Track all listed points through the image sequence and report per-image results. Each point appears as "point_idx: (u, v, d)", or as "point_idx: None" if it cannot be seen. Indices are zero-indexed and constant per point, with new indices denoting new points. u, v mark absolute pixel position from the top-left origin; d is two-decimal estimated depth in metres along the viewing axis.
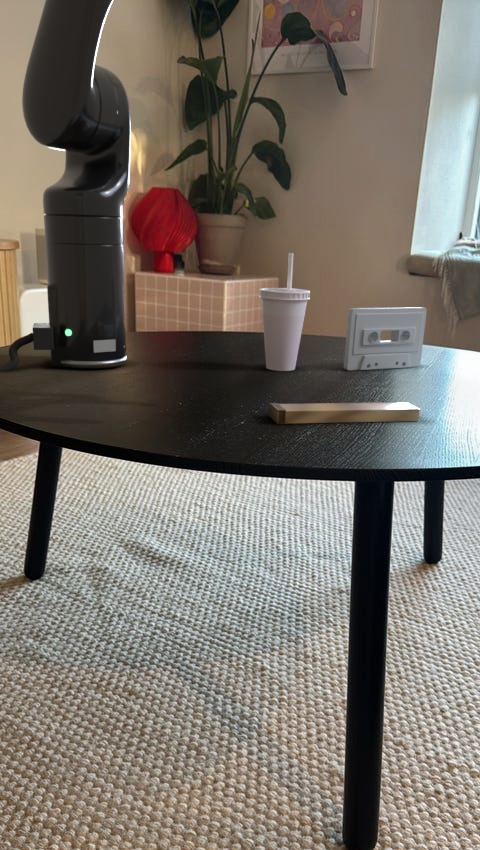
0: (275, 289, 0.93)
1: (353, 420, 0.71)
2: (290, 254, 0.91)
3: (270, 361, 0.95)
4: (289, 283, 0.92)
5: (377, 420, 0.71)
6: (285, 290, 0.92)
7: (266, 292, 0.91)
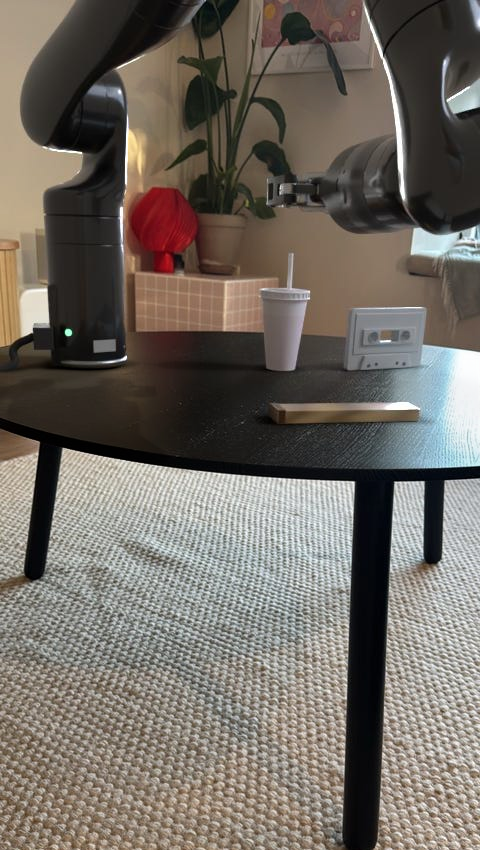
0: (275, 289, 0.93)
1: (353, 420, 0.71)
2: (290, 254, 0.91)
3: (270, 361, 0.95)
4: (289, 283, 0.92)
5: (377, 420, 0.71)
6: (285, 290, 0.92)
7: (266, 292, 0.91)
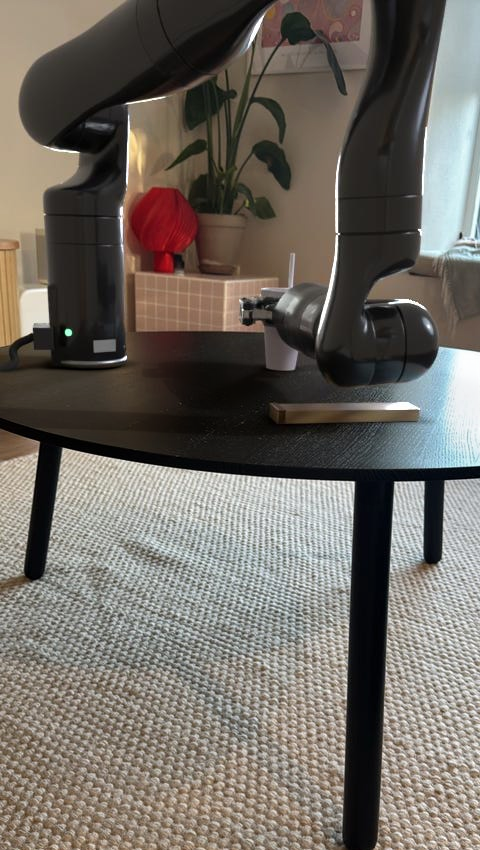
0: (276, 289, 0.93)
1: (353, 420, 0.71)
2: (292, 254, 0.91)
3: (270, 360, 0.95)
4: (290, 283, 0.93)
5: (377, 420, 0.71)
6: (286, 290, 0.92)
7: (267, 291, 0.91)
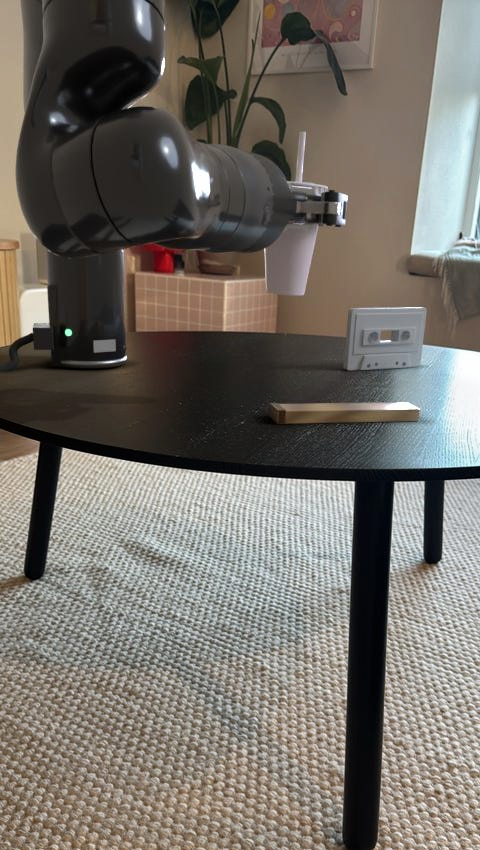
0: None
1: (353, 420, 0.71)
2: (300, 133, 0.67)
3: (266, 280, 0.72)
4: (297, 174, 0.68)
5: (377, 420, 0.71)
6: None
7: None
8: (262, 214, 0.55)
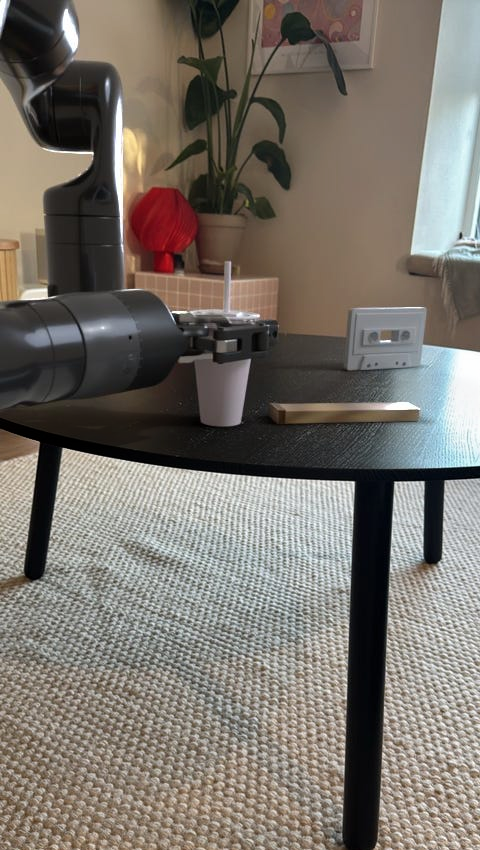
0: (211, 311, 0.66)
1: (353, 420, 0.71)
2: None
3: (199, 408, 0.69)
4: (224, 304, 0.65)
5: (377, 420, 0.71)
6: (211, 313, 0.65)
7: None
8: (120, 364, 0.53)
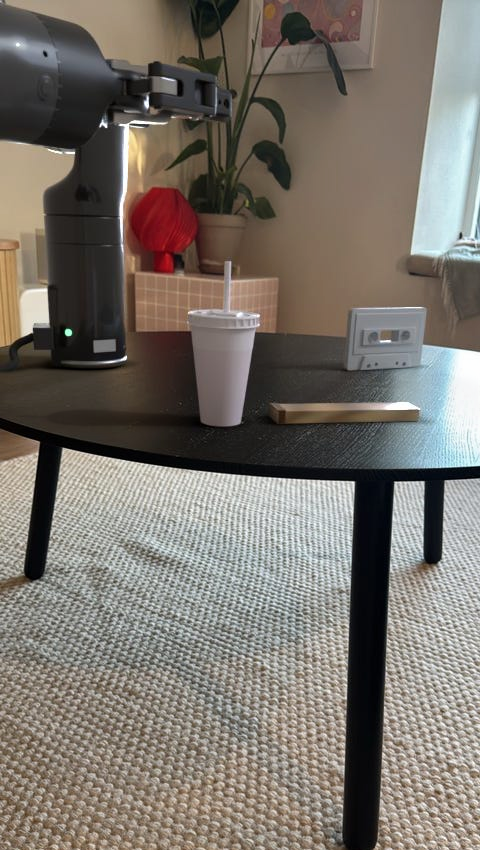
0: (211, 311, 0.66)
1: (353, 420, 0.71)
2: None
3: (199, 408, 0.69)
4: (224, 304, 0.65)
5: (377, 420, 0.71)
6: (211, 313, 0.65)
7: None
8: (33, 85, 0.45)
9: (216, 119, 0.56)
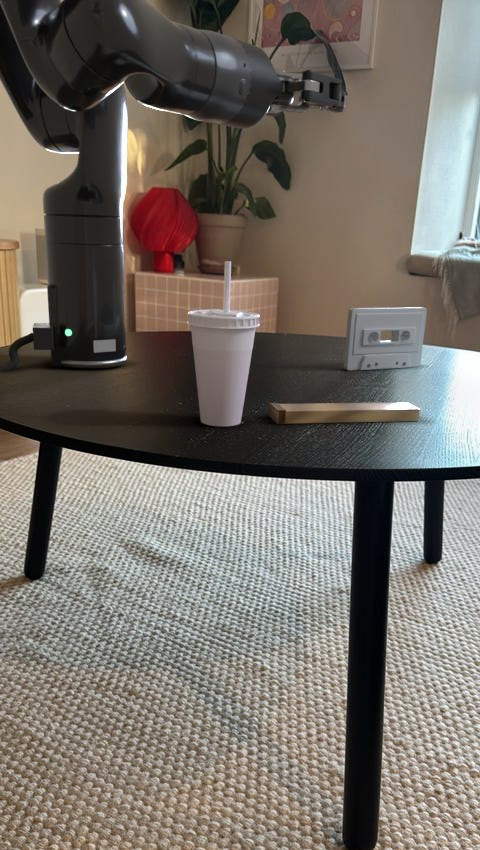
0: (211, 311, 0.66)
1: (353, 420, 0.71)
2: (225, 263, 0.64)
3: (199, 408, 0.69)
4: (224, 304, 0.65)
5: (377, 420, 0.71)
6: (211, 313, 0.65)
7: None
8: (237, 85, 0.70)
9: (335, 109, 0.82)
